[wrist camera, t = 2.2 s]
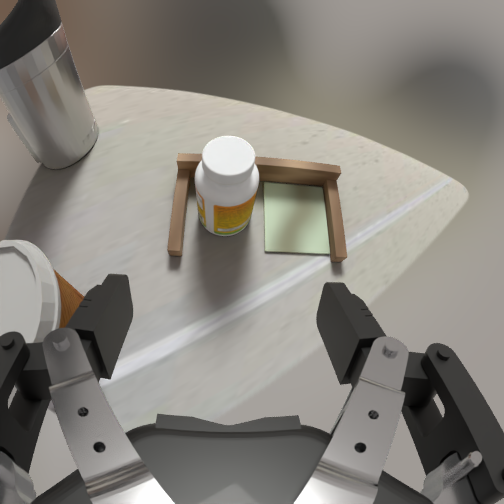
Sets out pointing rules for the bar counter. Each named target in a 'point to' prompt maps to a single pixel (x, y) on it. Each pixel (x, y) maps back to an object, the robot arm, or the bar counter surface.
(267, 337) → the bar counter surface
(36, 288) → the disposable coffee cup
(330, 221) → the bay
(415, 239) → the bar counter surface
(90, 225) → the bar counter surface
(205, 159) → the supplement bottle
